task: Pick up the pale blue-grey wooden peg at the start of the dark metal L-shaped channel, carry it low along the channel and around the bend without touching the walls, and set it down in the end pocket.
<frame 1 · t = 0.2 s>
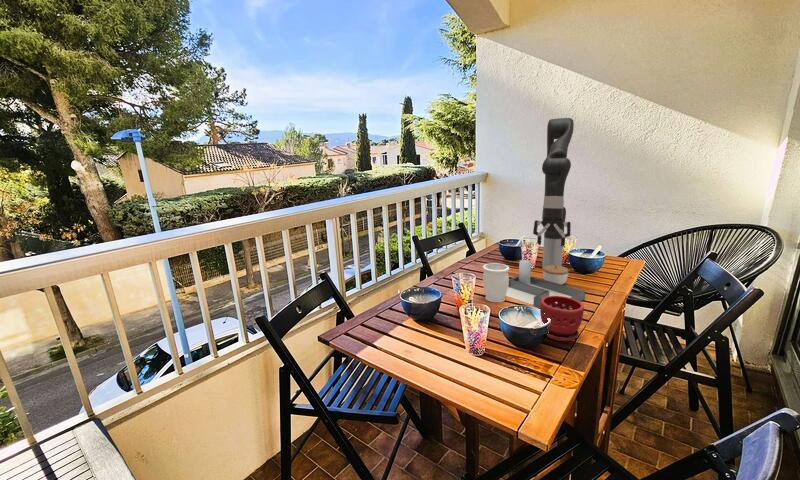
hand: (550, 245, 144), 22 cm above the table, tool pointing down, fingers open, 8 cm apart
plant pot: (559, 334, 117), on the table
lidded jar: (554, 284, 160), on the table
jar: (495, 300, 146), on the table
channel walls: (538, 295, 146), resting on channel board
peg: (524, 286, 157), point 1 cm above the table, touching channel board
channel board: (538, 297, 147), on the table
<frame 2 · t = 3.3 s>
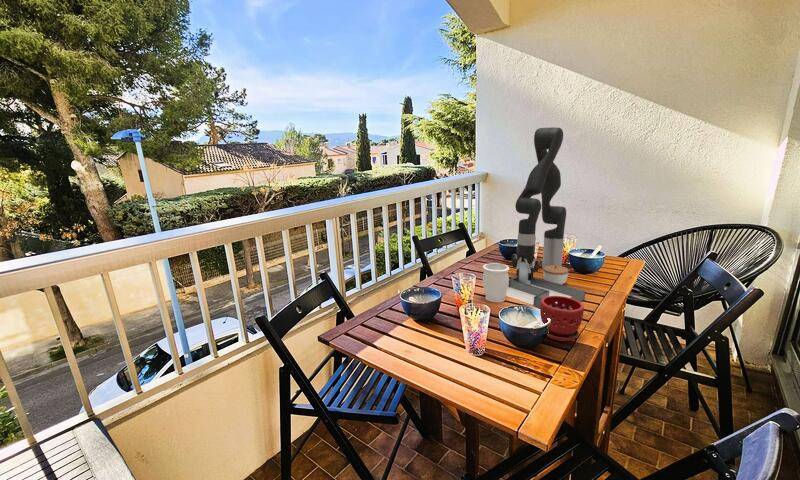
hand: (524, 278, 156), 5 cm above the table, tool pointing down, fingers closed on peg, 5 cm apart
peg: (524, 286, 157), point 1 cm above the table, touching channel board, gripper
everything else where it was.
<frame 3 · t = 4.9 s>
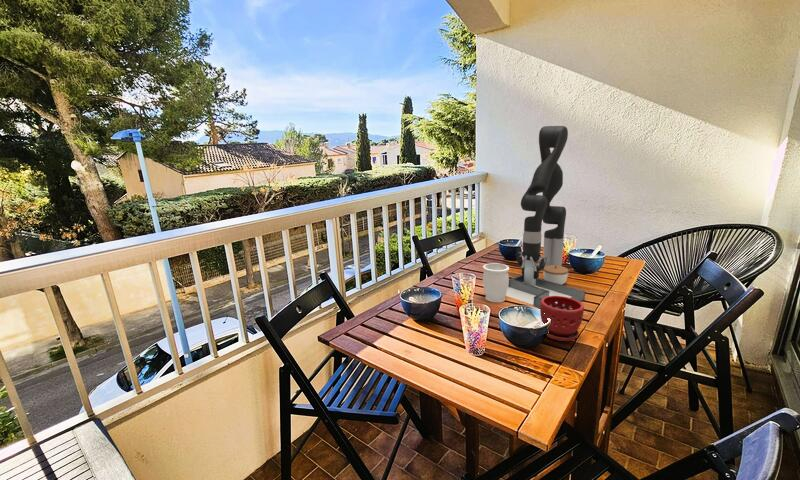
hand: (529, 276, 153), 6 cm above the table, tool pointing down, fingers closed on peg, 5 cm apart
peg: (529, 285, 154), point 2 cm above the table, touching gripper
everything else where it was.
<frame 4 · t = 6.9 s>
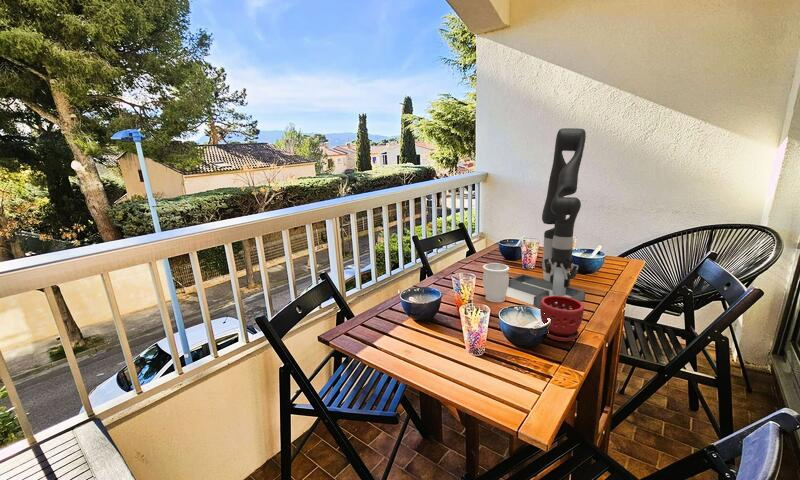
hand: (559, 285, 143), 6 cm above the table, tool pointing down, fingers closed on peg, 5 cm apart
peg: (558, 293, 144), point 2 cm above the table, touching gripper
everything else where it was.
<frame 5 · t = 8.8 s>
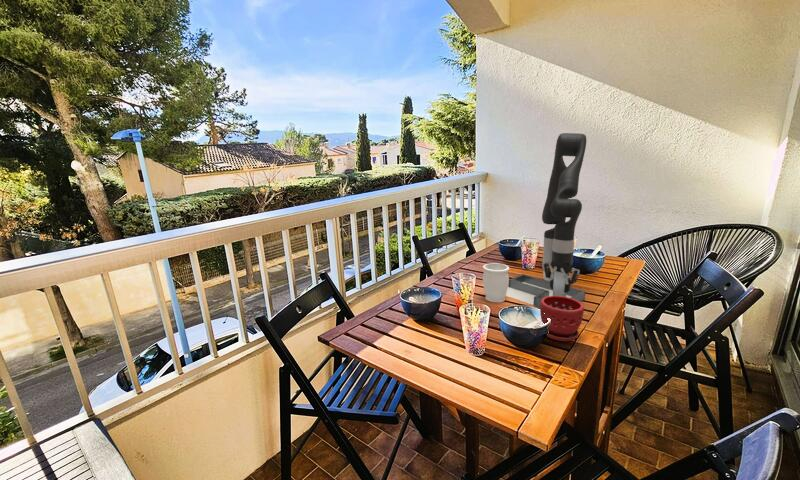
hand: (559, 290, 137), 6 cm above the table, tool pointing down, fingers closed on peg, 5 cm apart
peg: (559, 299, 138), point 3 cm above the table, touching gripper
everything else where it was.
when the fingers open (6 cm above the table, at t = 10.7 s): peg stays where it is, resting on channel board.
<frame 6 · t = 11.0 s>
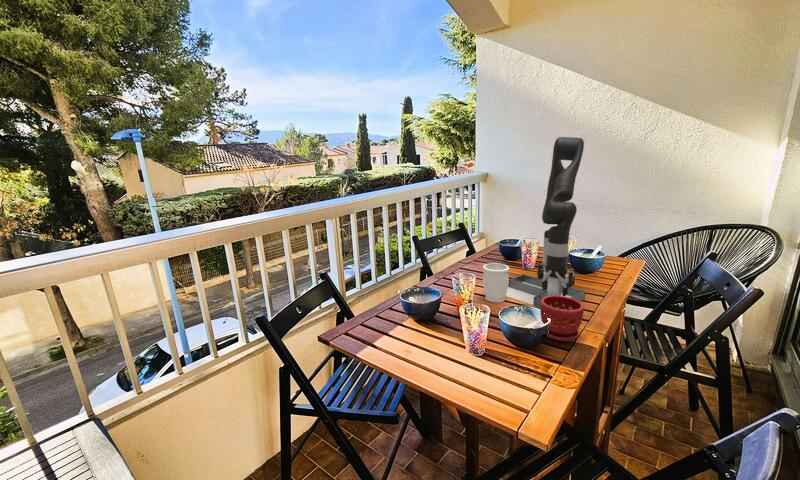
hand: (554, 292, 135), 6 cm above the table, tool pointing down, fingers open, 7 cm apart
peg: (553, 305, 137), point 1 cm above the table, touching channel board
everything else where it was.
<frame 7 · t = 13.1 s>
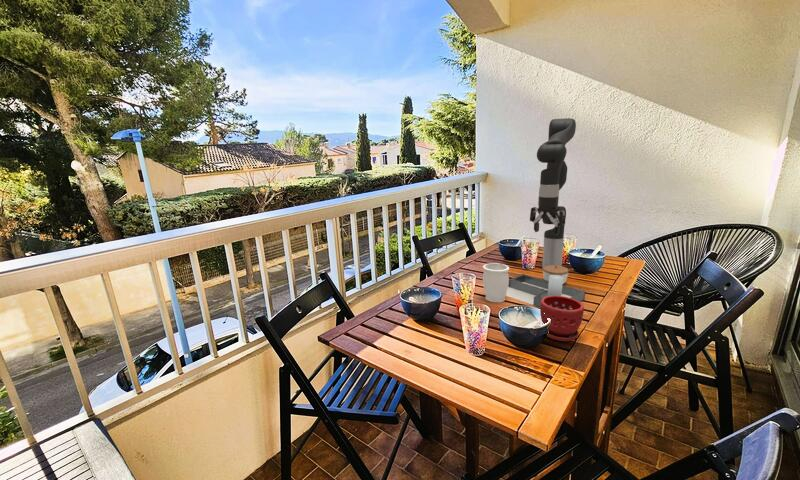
hand: (546, 233, 143), 27 cm above the table, tool pointing down, fingers open, 8 cm apart
nothing on the table moved.
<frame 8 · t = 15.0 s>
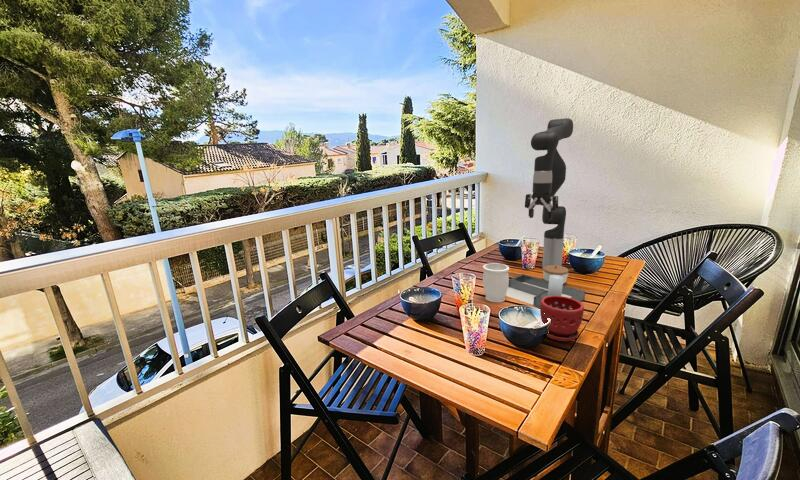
hand: (540, 218, 150), 32 cm above the table, tool pointing down, fingers open, 8 cm apart
nothing on the table moved.
at the end: peg 0.1 cm from the target spot, point 0.9 cm above the table; peg tilted 1°; peg touching channel board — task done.
